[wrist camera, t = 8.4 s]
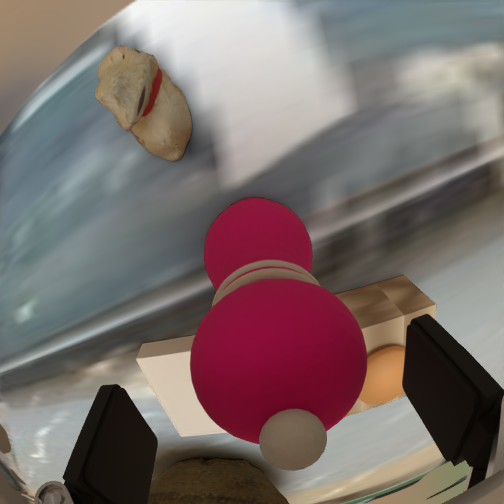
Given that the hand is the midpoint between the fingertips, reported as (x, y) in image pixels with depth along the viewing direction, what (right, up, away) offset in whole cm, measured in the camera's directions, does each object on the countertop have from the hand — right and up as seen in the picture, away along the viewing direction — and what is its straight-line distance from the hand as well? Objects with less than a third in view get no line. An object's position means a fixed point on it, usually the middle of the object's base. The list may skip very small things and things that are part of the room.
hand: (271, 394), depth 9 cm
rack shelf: (-4, -9, +21) cm, 23 cm away
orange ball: (+10, -4, +19) cm, 22 cm away
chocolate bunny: (-8, +15, +13) cm, 21 cm away
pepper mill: (0, +6, +16) cm, 17 cm away
